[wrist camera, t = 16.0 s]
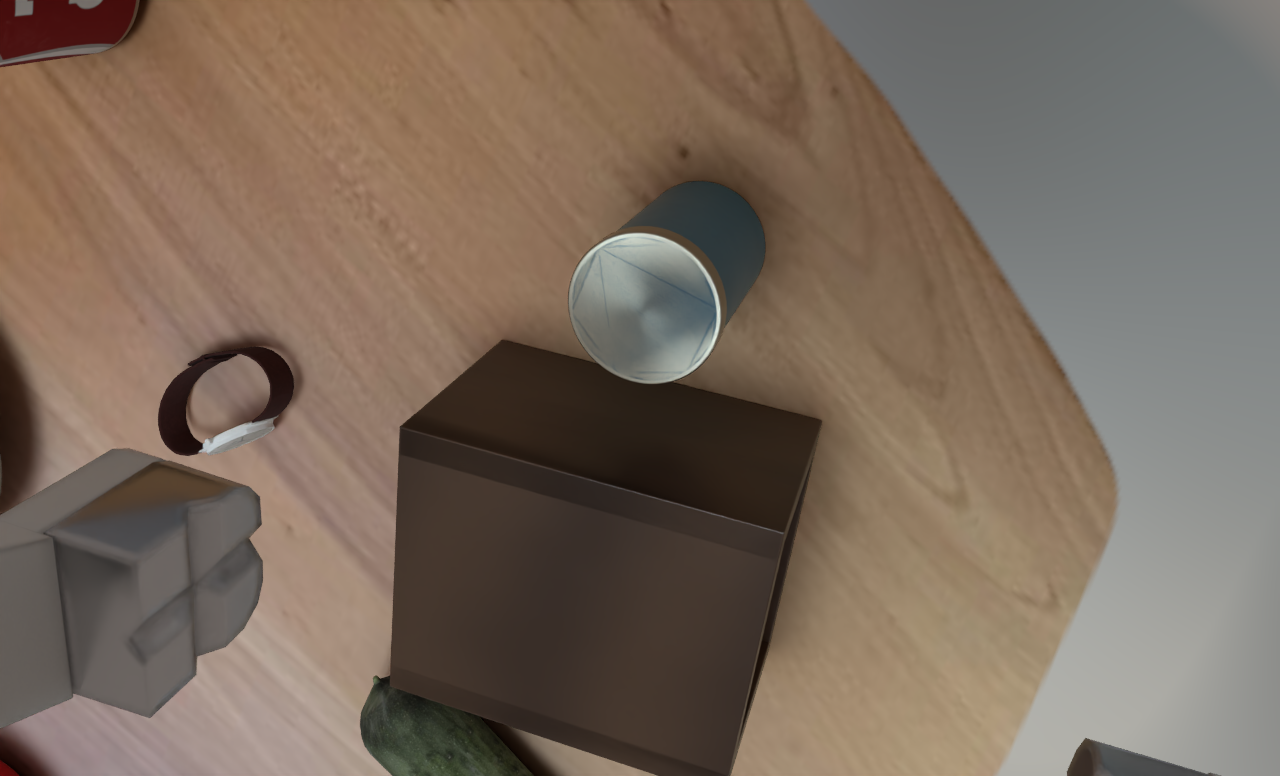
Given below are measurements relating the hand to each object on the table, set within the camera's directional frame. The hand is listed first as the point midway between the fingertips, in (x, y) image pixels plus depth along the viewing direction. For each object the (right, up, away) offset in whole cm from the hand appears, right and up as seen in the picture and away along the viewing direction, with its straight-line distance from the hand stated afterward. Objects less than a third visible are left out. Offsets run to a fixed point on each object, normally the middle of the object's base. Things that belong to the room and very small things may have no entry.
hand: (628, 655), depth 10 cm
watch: (-19, +3, +41) cm, 45 cm away
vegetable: (-8, -16, +45) cm, 49 cm away
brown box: (0, -2, +37) cm, 37 cm away
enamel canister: (+3, +8, +31) cm, 32 cm away
